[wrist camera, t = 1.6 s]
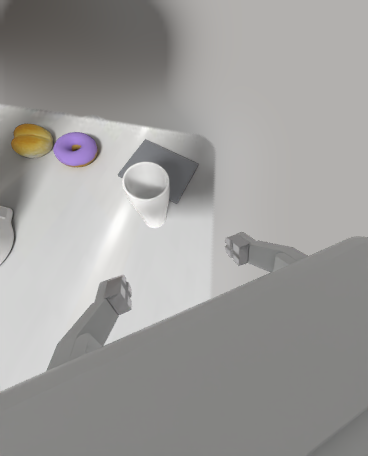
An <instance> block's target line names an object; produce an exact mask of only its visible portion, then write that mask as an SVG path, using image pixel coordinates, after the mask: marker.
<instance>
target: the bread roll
mask: <svg viewBox="0 0 368 456" xmlns="http://www.w3.org/2000/svg"><path fill="white" fill-rule="evenodd" d="M14 137H15V138H14V139H13V140H12V142H11V146H12V148H13V150H14V151H15V152H17V153H18V154H20V155H22V156H24V157H27V158H38V157H41V156H43V155H45V154H47V153H49V152H50V151H51V149H52V147H53V137H52V135H51V134H50V132H49V131H47V130H46V129H44V128H43V127H40V126H37V125H34V124H22V125H19V126H18V127H16V128H15V130H14Z"/></svg>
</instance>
